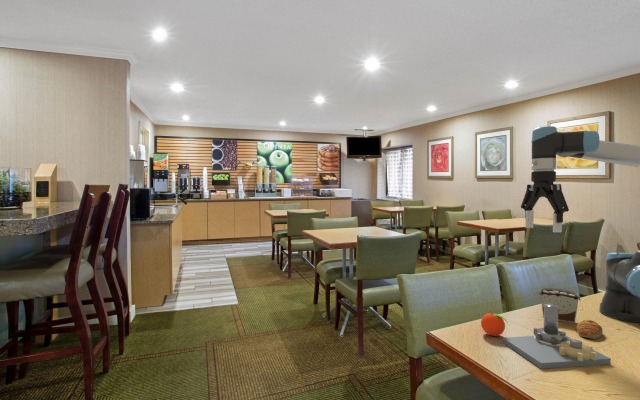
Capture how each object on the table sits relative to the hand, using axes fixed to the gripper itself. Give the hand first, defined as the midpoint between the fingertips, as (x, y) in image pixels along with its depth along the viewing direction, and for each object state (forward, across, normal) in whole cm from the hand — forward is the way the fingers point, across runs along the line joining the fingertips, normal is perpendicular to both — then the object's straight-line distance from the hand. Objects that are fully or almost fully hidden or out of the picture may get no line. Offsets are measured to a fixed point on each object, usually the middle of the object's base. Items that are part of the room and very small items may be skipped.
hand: (542, 230), depth 128 cm
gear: (+30, +21, -14) cm, 39 cm away
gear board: (+32, +26, -17) cm, 44 cm away
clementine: (+32, +13, -26) cm, 43 cm away
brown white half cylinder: (+32, +1, +6) cm, 32 cm away
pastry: (+32, +16, +5) cm, 36 cm away
